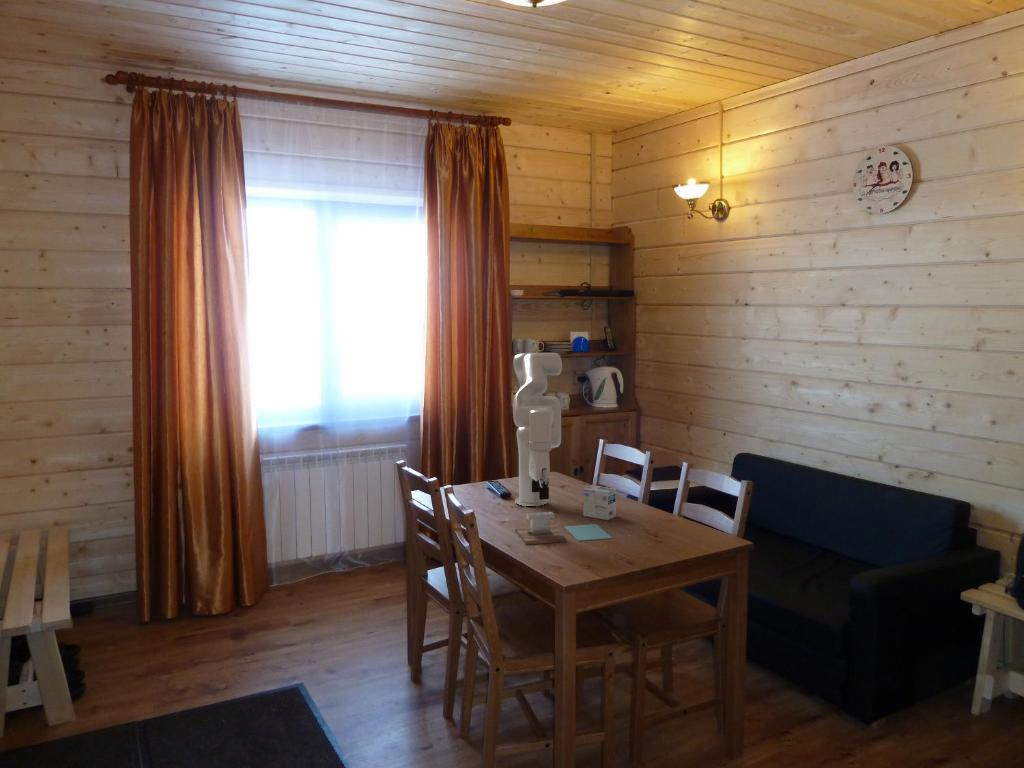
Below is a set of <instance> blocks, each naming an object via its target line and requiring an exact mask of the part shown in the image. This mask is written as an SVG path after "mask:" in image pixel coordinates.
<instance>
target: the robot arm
mask: <svg viewBox="0 0 1024 768" xmlns="http://www.w3.org/2000/svg"><path fill="white" fill-rule="evenodd" d="M512 361H513V370H514V373H515V376H516V378H517V380H518V384H519V389H518V390H517V391H516V392H515V395H514V397H513V399H512V400H513V401H512V415H513V416H512V419H513V423H514V425H515V426H516V427H518V428H517V430H516V440H517V447H518V497H517V498H515V499H514V503H515V504H516V503H517V504H519V505H518V506H520V505H522V506H521V507H526V506H536V507H541V505H542V506H544V504H545V505H546V504H548V500H549V498H550V478H551V476H550V475H551V467H550V464H551V463H550V452H551V451H552V449H555V448H559V447H560V445H561V443H562V407H561V402H560V399H559V398H558V397H557V396H551V395H543V394H544V393H546V392H547V390H548V385H549V384H548V379H547V378H548V376H559V375H560V374H561V373H562V371H563V363H562V362H563V361H562V358H561V355H560V354H559V353H558V352H523V353H517V354H516V355H514V357H513V360H512ZM517 504H516V505H517Z"/></svg>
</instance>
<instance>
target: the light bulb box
mask: <svg viewBox="0 0 1024 768" xmlns="http://www.w3.org/2000/svg"><path fill="white" fill-rule="evenodd" d="M582 493H583V496H582V498H583V501H582V502H583V505H582V507H583V509H582V510H583V511H582V513H583V515H584V516H583V517H587V516H588V517H589V518H594V519H598V520H599V519H600V520H604V521H605V520H606V521H610V520H611V519H613V518H615V517H617V488H615V487H607V486H599V485H593V484H590V485H589V486H586V487H583V492H582Z"/></svg>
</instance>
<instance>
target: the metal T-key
mask: <svg viewBox="0 0 1024 768" xmlns="http://www.w3.org/2000/svg"><path fill="white" fill-rule="evenodd" d="M525 518H526V520H527V521H530V526H529V528H530V536H540V535H550V526H551V524H550V523H551V519H555V513H553V511H542V512H530V513H529V512H528V513H525Z"/></svg>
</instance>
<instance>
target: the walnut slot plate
mask: <svg viewBox="0 0 1024 768" xmlns="http://www.w3.org/2000/svg"><path fill="white" fill-rule="evenodd" d="M514 530H515V531H514V532H515V534H516V533H517V534H518V535H517V534H516V535H517V536H518V538H519V539H520V538H521V539H522V540H521V539H520V540H521V541H522V543H523V544H524V543H525V544H527V545H537V544H548V543H550V544H551V543H562V542H567V537H566V536H565V535H564V534H563V533H562V532H561V531H560V530H559V529H558V528H557V527H556V526H555V525H550V535H540V536H530V527H521V528H520V527H519V528H515V529H514ZM525 544H524V545H525Z"/></svg>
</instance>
